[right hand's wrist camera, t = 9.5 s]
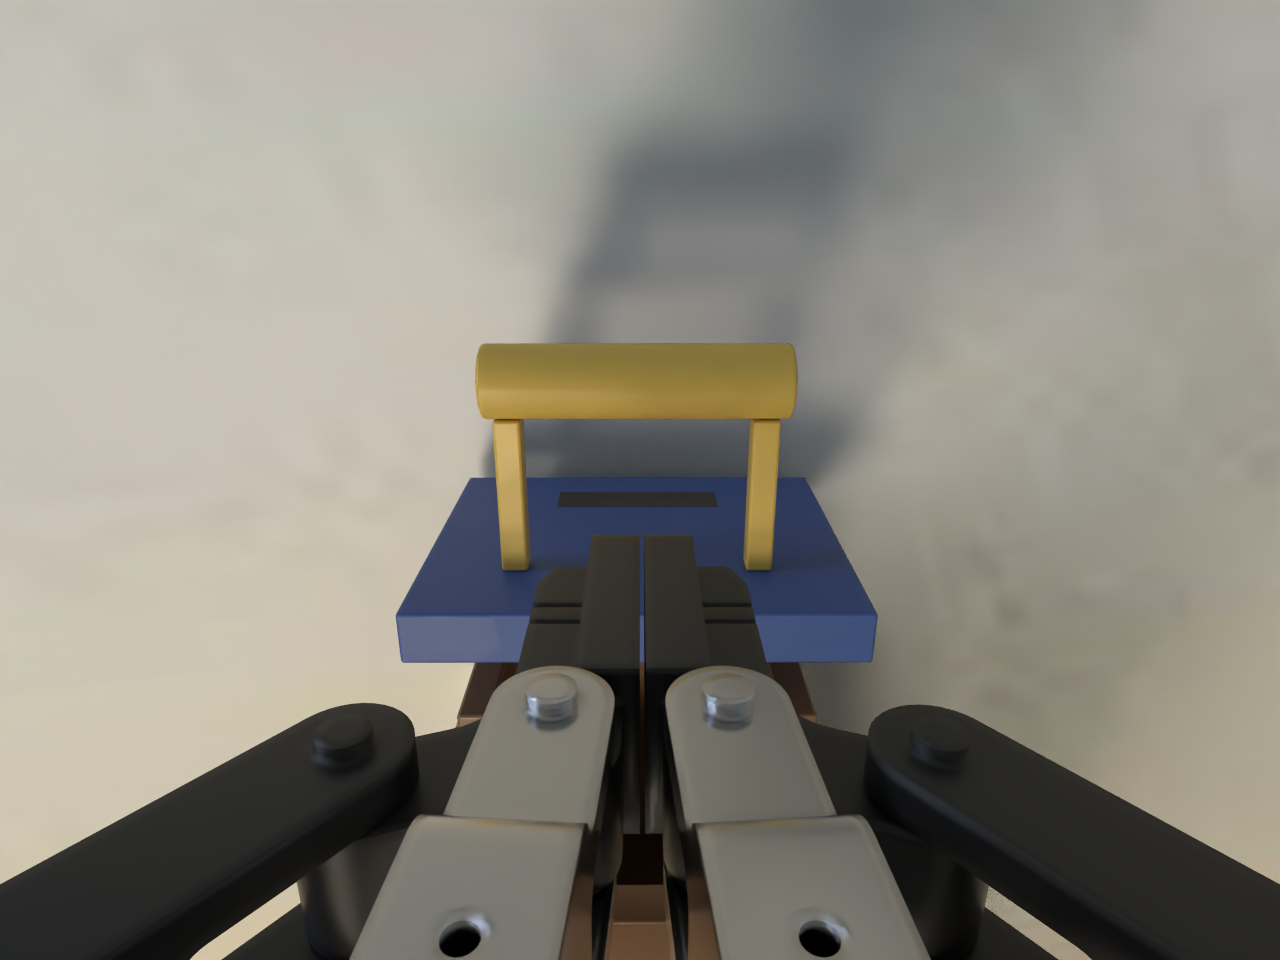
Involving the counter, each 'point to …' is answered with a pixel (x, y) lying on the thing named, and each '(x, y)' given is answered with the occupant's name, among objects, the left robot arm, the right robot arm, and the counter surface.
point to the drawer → (634, 522)
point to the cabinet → (640, 923)
